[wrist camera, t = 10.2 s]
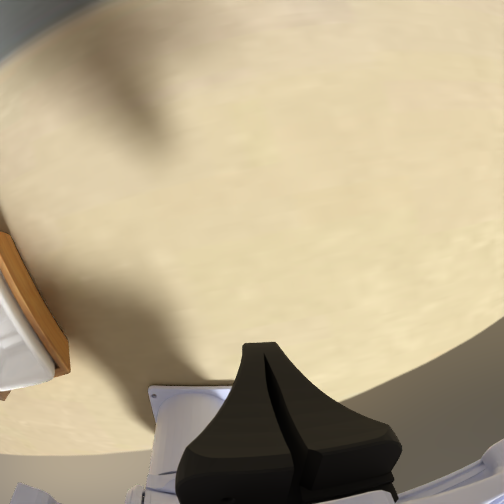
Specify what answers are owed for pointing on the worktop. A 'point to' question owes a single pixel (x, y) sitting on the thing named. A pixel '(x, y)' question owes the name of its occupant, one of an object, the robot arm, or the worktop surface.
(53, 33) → the worktop surface
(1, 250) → the soap dish
